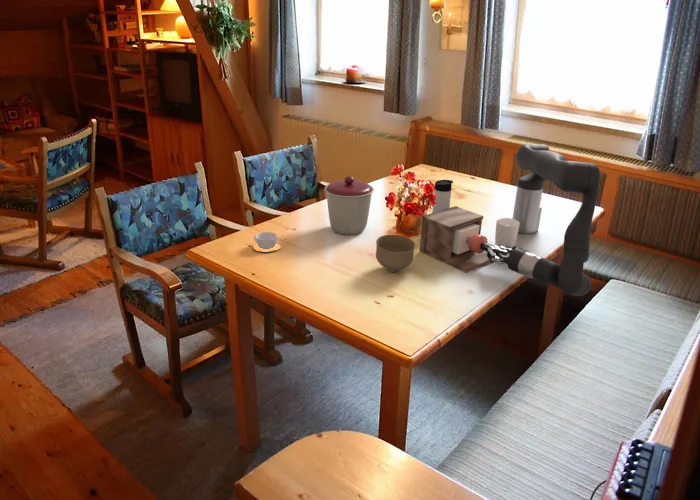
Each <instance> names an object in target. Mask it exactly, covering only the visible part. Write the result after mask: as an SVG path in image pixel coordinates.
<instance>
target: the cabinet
mask: <svg viewBox="0 0 700 500" xmlns="http://www.w3.org/2000/svg"><path fill="white" fill-rule="evenodd" d="M421 217H422V218H421V231H420V243H419V253H422V254H425V255H426V256H429V257H431V258H433V259H436V260H438V261H440V262H441V263H444V264H446V265H449V266H451V267H453V268H455V269H457V270H460V271H461V272H463V273H469V272H471V271H474V270H476V269H478V268H481V267H483V266H486V265H488V264H492V263H491V262H490V260H489V258H488V257H487V251H483V252H482V253H480V254H478V253H476V252H473V251H471V250H468V251H465V252H463V253H460V254H456V253H453V252H452V242H453V232H454V229H456V228H459V227H462V226H465V225H468V224H471V223H474V224H477V225H479V235H481V232H482V223H483V220H484V215H482V214H478V213H476V212H473V211H470V210H467V209H465V208H462V207H460V206H450V208H448V209H444V210H441V211H438V212H434V213H429V214H425V215H422V216H421Z"/></svg>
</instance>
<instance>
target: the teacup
mask: <svg viewBox="0 0 700 500" xmlns="http://www.w3.org/2000/svg"><path fill="white" fill-rule="evenodd" d="M253 240H254V241H255V242H256V243H257V244H258V246H259V247H260V248H263V249H270V248H273V247H274V246H275V244H276V243H277V241H278V234H276V233H275V232H272V231H271V232H270V231H262V232H258V233H257V234H255V235H254V236H253Z"/></svg>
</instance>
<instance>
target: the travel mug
mask: <svg viewBox="0 0 700 500" xmlns="http://www.w3.org/2000/svg"><path fill="white" fill-rule="evenodd" d="M453 184H454V180H450V179H440V180H436V181H435V182H434V189H433V194H434V193H435V196H437V197H436V204H435V206H433V205H432V210H431V211H432V213H434V212H438V211H441V210H444V209H448V208H451V198H452V187H453V186H452V185H453ZM434 190H435V191H434Z"/></svg>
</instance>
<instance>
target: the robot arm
mask: <svg viewBox="0 0 700 500" xmlns="http://www.w3.org/2000/svg"><path fill="white" fill-rule="evenodd" d="M515 157H516V162H517V163H516V164H517V165H518V167H519V168H520V169H521V170H526V171H530V172H529V173H528V174H526V175H523V176H521V177H519V178H518V180H517V184H516V185H517V186H516V187H517V188H516V193H515V200H514V206H513V212H512V213H513V215H512V219H515V220H517V221H519V223H520V224H519V229H518V233H519V234H526V235H530V234H534V233H536V232H538V231H539V228H540V222H541V217H542V216H541V215H542V209H543V207H541V202H542V195H543V189H544V186H545V185H544V184H545V180H546V181H548V182H550V183H553V184H554V185H555V186H556V187H557V188H558V189H559V190H561V191H563V192H566V193H572V194H582V201H581V204H580V205H581V206H580V208H579V209H578V211H577V213H576V214H575V216H574V217H573V218H572V219H571V221H570V223H569V224H568V226H567V228H566V229H565V232H564V237H563V249H562V250H563V256H562V259H561V261H560V262H561V263H560V264H558V263H556V262H554V261H552V260H550V259H547V258H546V257H545V258H544V257H542V256H540V255H539V254H537V253H533V252H531V251H529V250H526V249H524V248H521V247H517V245H515V246H511V245H501V244H498V246H497V245H495V244H491V243H488V242H487V243H486V242H484V243H481V249H482V250H484V251H487V257H488V258H489V260H490V262H491V263H490V264H494V263H495V261H496V262H498V261H499V263H501V264H506V266H507V268H508V270H510V271H512V272H513V273H514V272H515V273H517V274H520V275H522V276H524V277H527V278H530V279H533V280H536V281H538V282H540V283H543V284H545V285H548V286H553V287H555V288H557V289H560V290H561V291H562V292H563V293H565V294H568V295H571V296H575V297H581V296H582V297H583V296H585V295H586V294H587V295H588V293H589V292H590V291H591V289H592V281H591V279H590V277H589V276H588V275H587V274H586V273H584V271H583V270H584V266H585V265H584V264H585V263H587V262H588V260H589V258H590V244H591V243H590V241H591V240H590V239H591V229H592V223H593V218H594V214H595V209H596V205H597V200H598V199H597V198H598V193H599V187H600V183H601V181H600V180H601V172H600V168H599V166H598V165H597V164H595V163H591V162H584V161H574V160H568V159H567V158H566V157H565V156H564V155H563V154H561V153H559V152H555V151H551V150H550V147H549V146H548V144H543V143H540V144H538V143H534V144H533V143H525V144H522V145H520V147H518V149H517V152H516V156H515Z"/></svg>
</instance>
